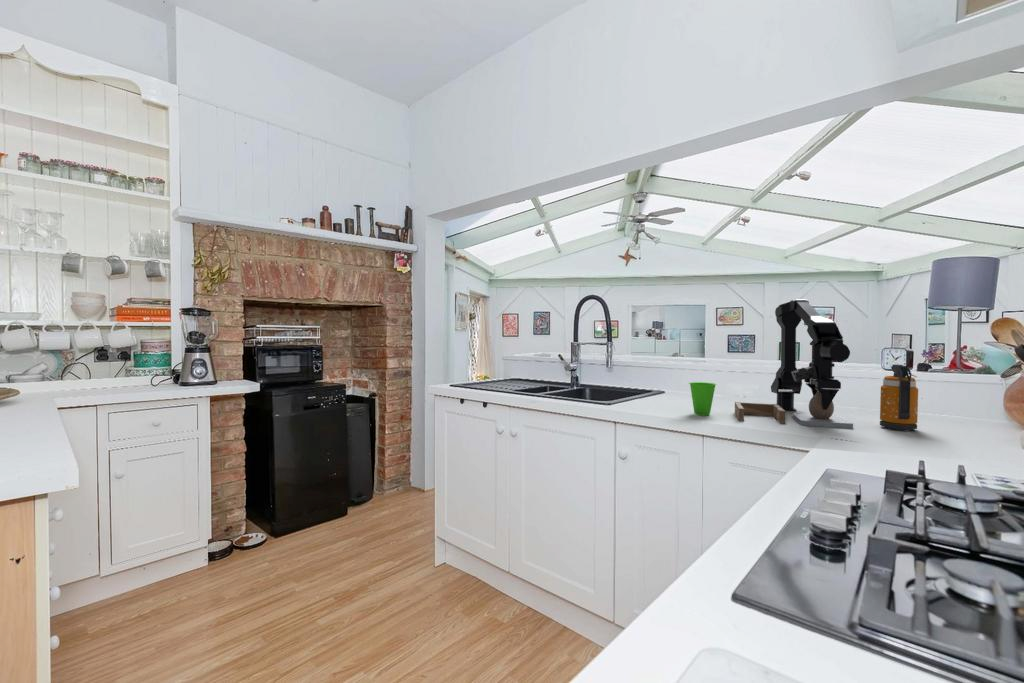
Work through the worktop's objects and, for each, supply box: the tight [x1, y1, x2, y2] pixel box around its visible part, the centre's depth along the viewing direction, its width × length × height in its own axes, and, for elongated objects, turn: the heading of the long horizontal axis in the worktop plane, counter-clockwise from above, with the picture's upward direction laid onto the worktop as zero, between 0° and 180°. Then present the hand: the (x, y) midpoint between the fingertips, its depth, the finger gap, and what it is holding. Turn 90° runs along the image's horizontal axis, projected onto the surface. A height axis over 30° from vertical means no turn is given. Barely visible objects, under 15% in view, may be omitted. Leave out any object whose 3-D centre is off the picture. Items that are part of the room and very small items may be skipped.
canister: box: [879, 364, 919, 432], centre depth 145 cm, size 9×11×20 cm
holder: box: [734, 401, 787, 424], centre depth 163 cm, size 15×14×4 cm
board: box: [791, 412, 854, 429], centre depth 155 cm, size 14×14×2 cm
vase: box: [808, 391, 835, 419], centre depth 155 cm, size 7×7×9 cm
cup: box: [688, 381, 717, 416], centre depth 169 cm, size 9×9×11 cm
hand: (820, 407), depth 155 cm, fingers open, 9 cm apart
